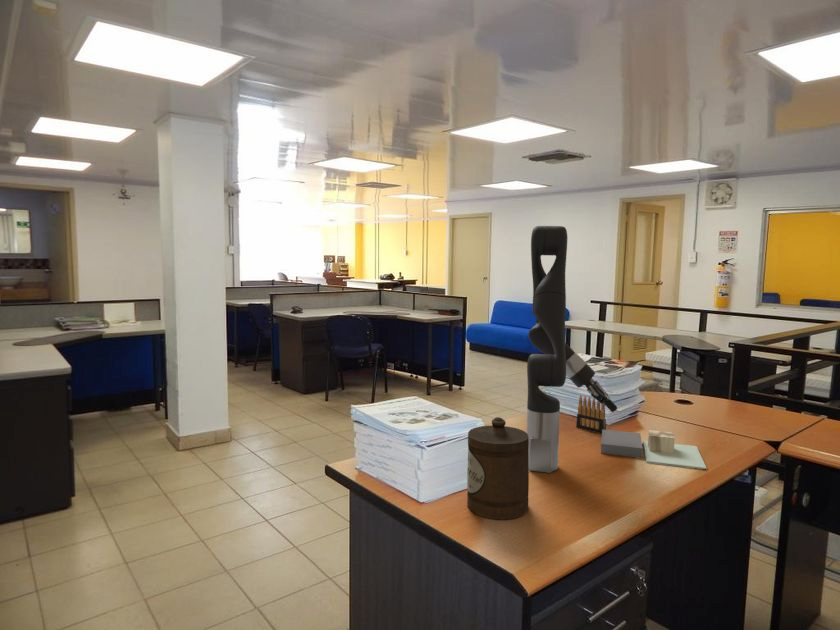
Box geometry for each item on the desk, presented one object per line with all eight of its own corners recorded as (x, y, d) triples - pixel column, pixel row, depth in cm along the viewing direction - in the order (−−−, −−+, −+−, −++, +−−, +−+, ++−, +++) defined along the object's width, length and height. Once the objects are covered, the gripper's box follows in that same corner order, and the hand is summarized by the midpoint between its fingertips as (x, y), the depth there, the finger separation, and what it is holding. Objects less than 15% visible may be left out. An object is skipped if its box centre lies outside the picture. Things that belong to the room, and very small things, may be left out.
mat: (706, 469, 154) (706, 467, 154) (646, 462, 160) (646, 460, 159) (696, 447, 173) (696, 446, 173) (643, 442, 178) (643, 440, 178)
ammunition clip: (576, 427, 195) (577, 395, 194) (578, 426, 196) (579, 394, 195) (603, 434, 187) (604, 400, 186) (605, 432, 188) (607, 399, 187)
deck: (642, 457, 164) (642, 448, 163) (600, 453, 168) (601, 443, 167) (639, 441, 179) (640, 433, 178) (602, 437, 183) (602, 429, 182)
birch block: (649, 451, 168) (673, 453, 166) (650, 435, 168) (674, 438, 165) (648, 445, 174) (671, 447, 171) (648, 430, 173) (672, 432, 171)
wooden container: (467, 492, 139) (468, 409, 137) (525, 494, 137) (527, 411, 135) (466, 518, 124) (467, 426, 122) (531, 522, 122) (533, 428, 120)
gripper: (584, 365, 168) (624, 407, 165) (586, 359, 181) (623, 398, 178) (566, 381, 171) (605, 422, 168) (569, 373, 183) (606, 412, 180)
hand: (615, 409), depth 173 cm, fingers closed
